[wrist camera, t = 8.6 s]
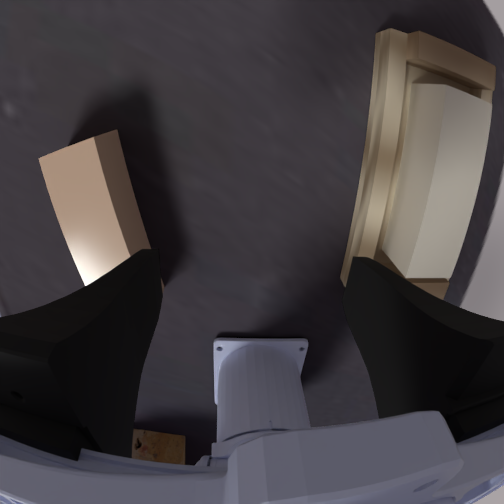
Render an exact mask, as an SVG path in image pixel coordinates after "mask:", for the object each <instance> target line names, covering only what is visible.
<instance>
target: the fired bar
mask: <svg viewBox="0 0 504 504" xmlns="http://www.w3.org/2000/svg"><path fill="white" fill-rule="evenodd" d="M39 161H40V165H41V168H42V172H43V175H44V179H45V182H46V185H47V188H48V192H49V195H50V198H51V201H52V204H53V207H54V209H55V212H56V215H57V218H58V221H59V223H60V226H61V229H62V231H63V234H64V237H65V239H66V242H67V244H68V247H69V249H70V252H71V254H72V257H73V259H74V261H75V264H76V266H77V268H78V271H79V273H80V275H81V277H82V280H83V282H84V284H85V286H87V285H89V284H90V283H92V282H93V281H95V280H97V279H98V278H100V277H101V276H103V275H104V274H106V273H107V272H109V271H111V270H112V269H113V268H115V267H116V266H118V265H119V264H121V263H122V262H123V261H125V260H126V259H128V258H129V257H130V256H132V255H133V254H135V253H136V252H138V251H139V250H141V249H151V247H150V244H149V241H148V238H147V235H146V231H145V228H144V225H143V222H142V219H141V215H140V212H139V209H138V205H137V202H136V199H135V195H134V192H133V188H132V185H131V181H130V178H129V174H128V170H127V167H126V163H125V159H124V155H123V151H122V147H121V143H120V139H119V135H118V131H117V130H114V131H110V132H107V133H104V134H101V135H98V136H95V137H92V138H90V139H87V140H84V141H81V142H79V143H76V144H73V145H71V146H68V147H65V148H63V149H60V150H58V151H55V152H53V153H51V154H48V155H46V156H43V157H41V158H39ZM161 283H162V293H163V291H164V284H163V282H162V279H161Z"/></svg>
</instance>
